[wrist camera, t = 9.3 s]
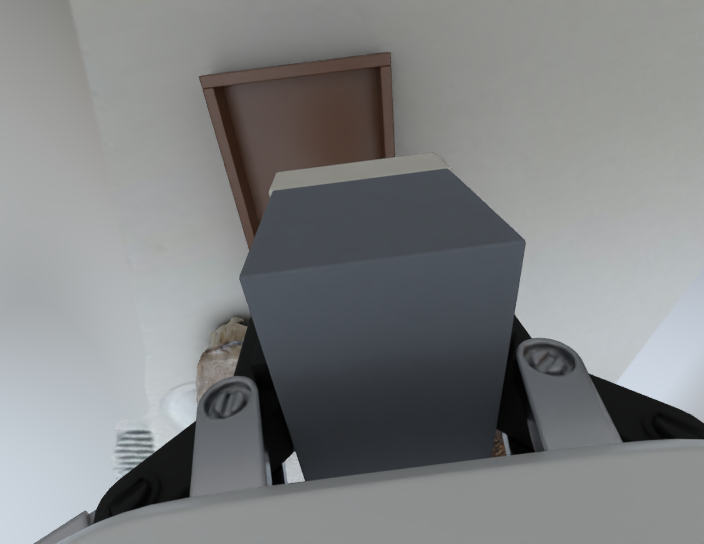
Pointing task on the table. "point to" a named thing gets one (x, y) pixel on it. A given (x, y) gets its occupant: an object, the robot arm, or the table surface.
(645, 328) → the table surface
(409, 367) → the grey stepped block
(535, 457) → the robot arm
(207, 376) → the shoe brush
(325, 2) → the table surface
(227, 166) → the tray
